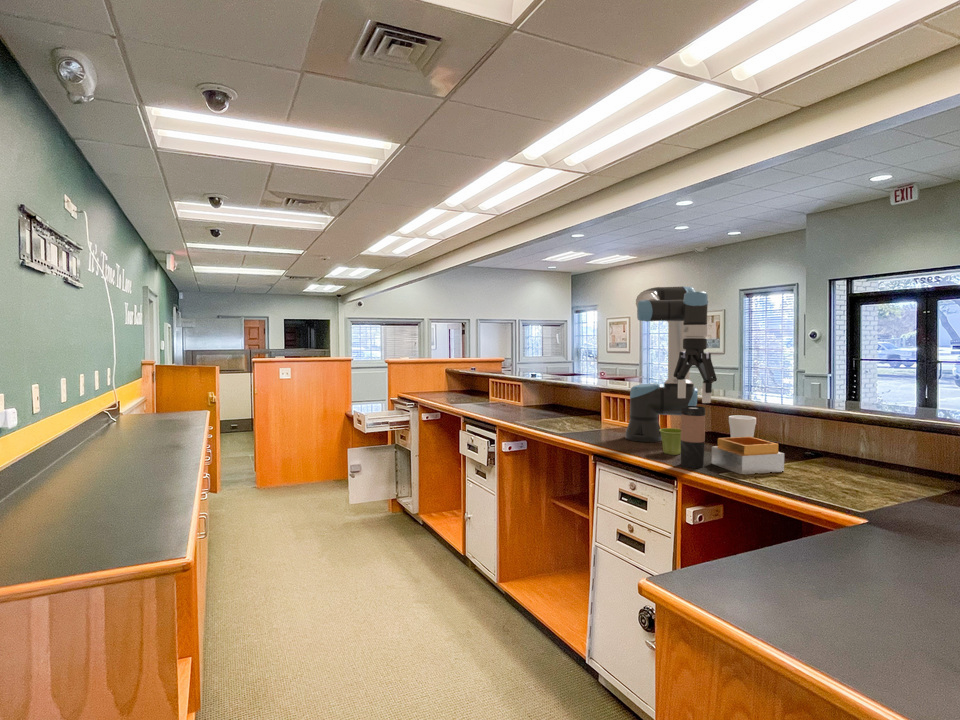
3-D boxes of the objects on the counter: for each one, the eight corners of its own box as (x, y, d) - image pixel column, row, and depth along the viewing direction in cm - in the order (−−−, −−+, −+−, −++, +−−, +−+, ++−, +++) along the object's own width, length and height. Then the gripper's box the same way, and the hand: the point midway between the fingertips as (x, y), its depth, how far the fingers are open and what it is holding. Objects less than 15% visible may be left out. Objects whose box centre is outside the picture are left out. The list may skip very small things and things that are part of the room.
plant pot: (689, 456, 201) (689, 432, 200) (663, 456, 201) (663, 432, 200) (680, 450, 210) (680, 428, 210) (655, 450, 210) (656, 428, 210)
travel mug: (706, 468, 183) (707, 409, 181) (682, 467, 184) (683, 408, 183) (701, 463, 190) (703, 406, 189) (678, 462, 192) (679, 405, 190)
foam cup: (749, 448, 213) (750, 415, 213) (759, 453, 204) (760, 419, 203) (724, 448, 214) (725, 415, 214) (732, 453, 205) (733, 419, 204)
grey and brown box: (711, 463, 189) (712, 437, 189) (762, 460, 194) (763, 435, 194) (741, 474, 175) (742, 446, 174) (796, 470, 180) (797, 443, 179)
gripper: (664, 337, 196) (663, 396, 197) (708, 337, 172) (707, 405, 173) (682, 337, 198) (681, 396, 199) (729, 337, 173) (728, 404, 174)
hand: (693, 400), depth 186 cm, fingers open, 13 cm apart
